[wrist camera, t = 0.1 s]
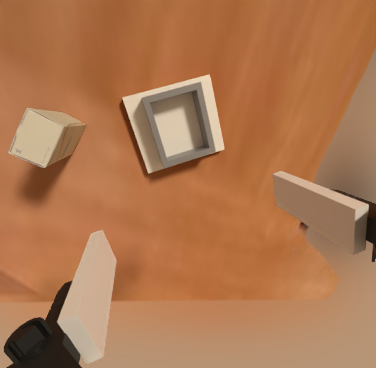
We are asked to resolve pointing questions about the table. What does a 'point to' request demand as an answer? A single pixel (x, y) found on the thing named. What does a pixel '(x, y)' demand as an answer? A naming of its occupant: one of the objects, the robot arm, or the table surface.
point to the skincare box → (46, 137)
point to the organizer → (175, 123)
